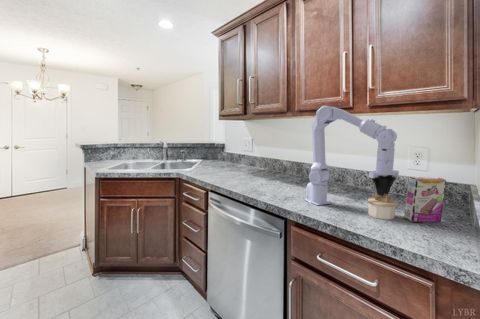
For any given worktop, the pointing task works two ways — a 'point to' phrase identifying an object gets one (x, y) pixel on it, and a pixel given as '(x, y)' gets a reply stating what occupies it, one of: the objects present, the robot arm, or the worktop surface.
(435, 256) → the worktop surface
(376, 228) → the worktop surface
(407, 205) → the candy bar box
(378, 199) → the lid
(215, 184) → the worktop surface
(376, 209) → the bowl
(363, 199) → the worktop surface
